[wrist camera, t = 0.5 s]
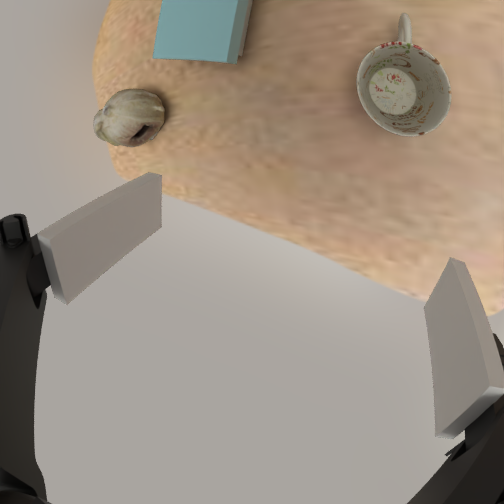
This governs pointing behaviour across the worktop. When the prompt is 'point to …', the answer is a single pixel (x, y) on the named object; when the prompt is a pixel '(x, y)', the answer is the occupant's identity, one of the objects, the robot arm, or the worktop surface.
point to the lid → (200, 30)
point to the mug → (403, 86)
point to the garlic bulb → (129, 118)
